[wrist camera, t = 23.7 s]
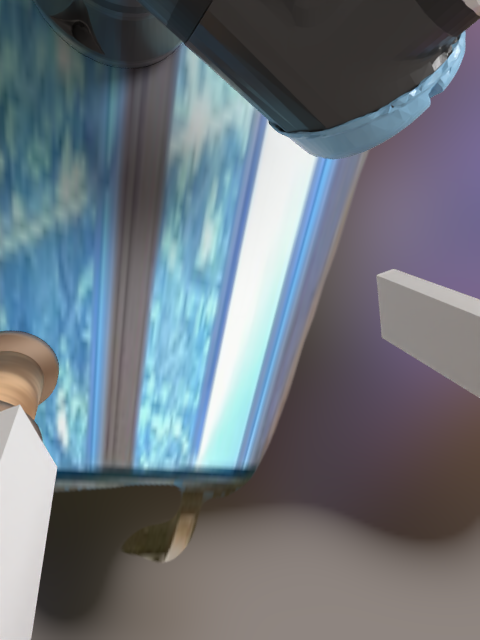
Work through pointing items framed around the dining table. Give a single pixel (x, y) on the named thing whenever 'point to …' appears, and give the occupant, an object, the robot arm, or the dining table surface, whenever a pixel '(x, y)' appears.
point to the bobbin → (26, 372)
